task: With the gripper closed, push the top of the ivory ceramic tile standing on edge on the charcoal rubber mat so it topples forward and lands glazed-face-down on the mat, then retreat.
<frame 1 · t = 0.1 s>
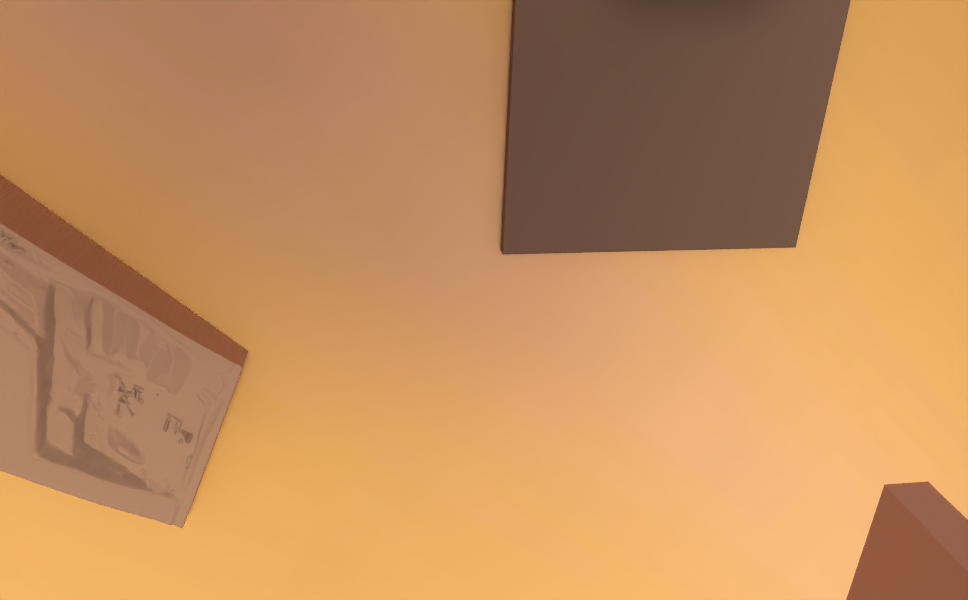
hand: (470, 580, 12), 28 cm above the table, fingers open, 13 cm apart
mat: (676, 49, 37), on the table
flat printed box: (34, 311, 38), on the table
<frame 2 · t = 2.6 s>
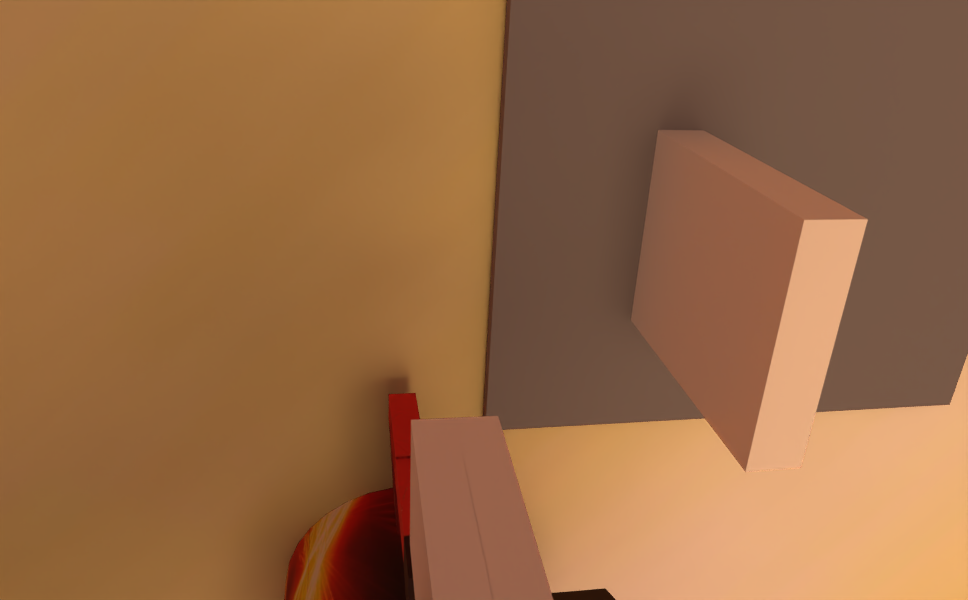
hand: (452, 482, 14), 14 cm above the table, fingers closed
tile: (665, 229, 27), point 1 cm above the table, touching mat
mug: (379, 542, 32), on the table
mat: (762, 223, 28), on the table
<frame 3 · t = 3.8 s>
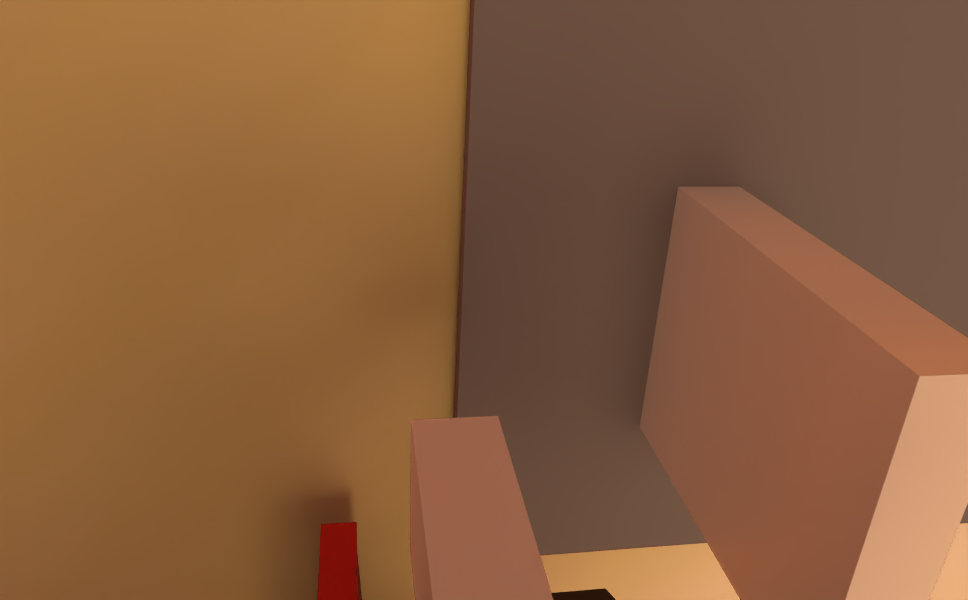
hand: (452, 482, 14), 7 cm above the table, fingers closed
tile: (686, 314, 21), point 1 cm above the table, touching mat
mat: (813, 301, 22), on the table
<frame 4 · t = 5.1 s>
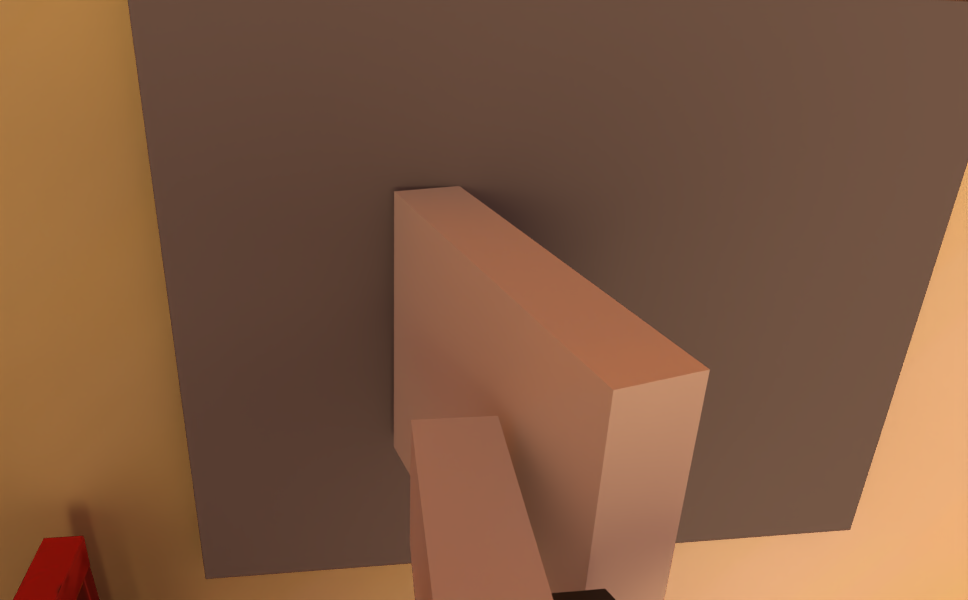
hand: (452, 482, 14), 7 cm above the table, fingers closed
tile: (424, 324, 19), point 1 cm above the table, tilted 16°, touching mat
mat: (570, 306, 21), on the table
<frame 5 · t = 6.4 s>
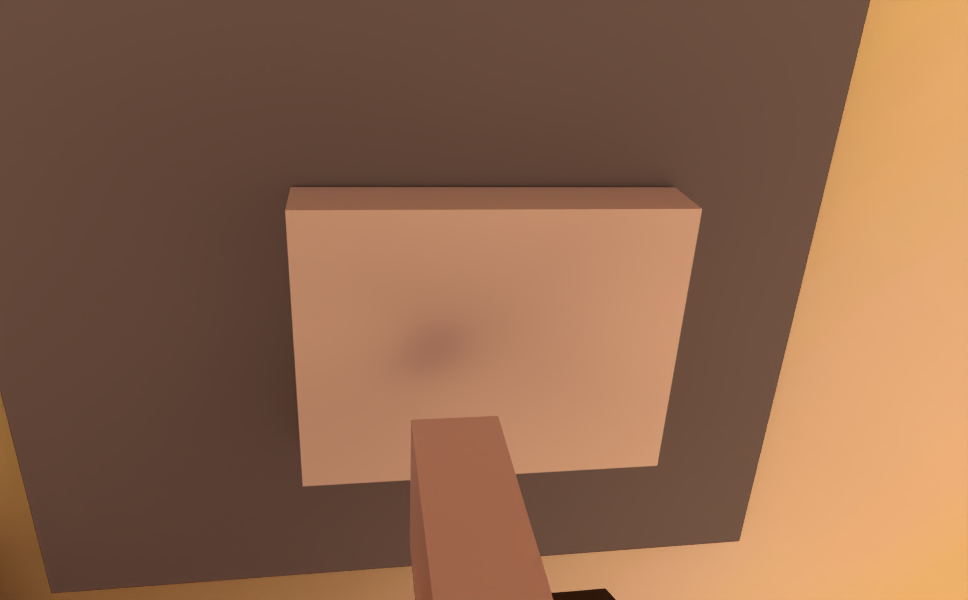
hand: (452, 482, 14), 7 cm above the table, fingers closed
tile: (296, 343, 18), point 2 cm above the table, tilted 90°, touching mat
mat: (421, 310, 20), on the table
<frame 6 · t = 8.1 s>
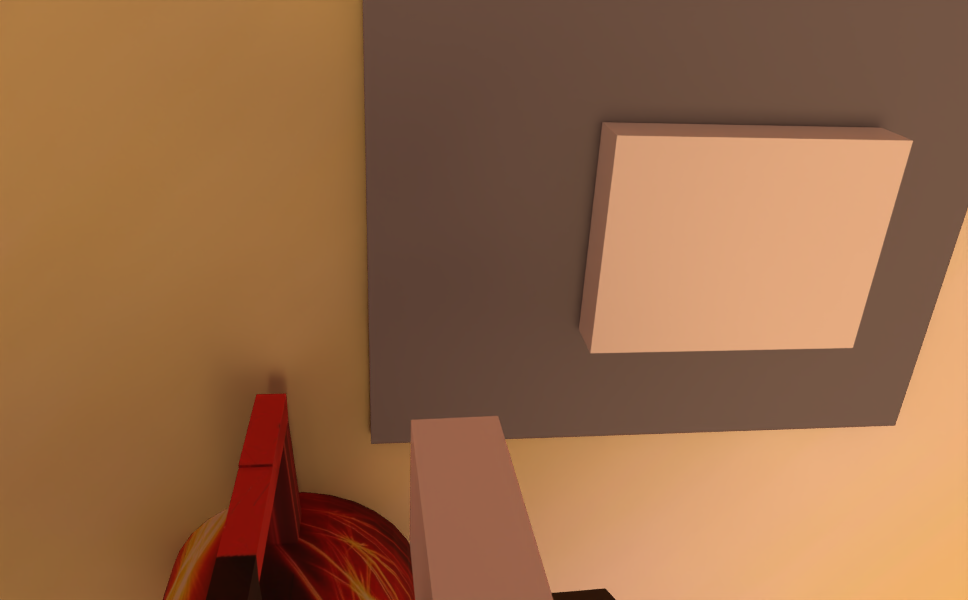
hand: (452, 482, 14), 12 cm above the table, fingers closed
tile: (596, 241, 24), point 2 cm above the table, tilted 90°, touching mat
mug: (270, 549, 30), on the table
mat: (672, 224, 26), on the table
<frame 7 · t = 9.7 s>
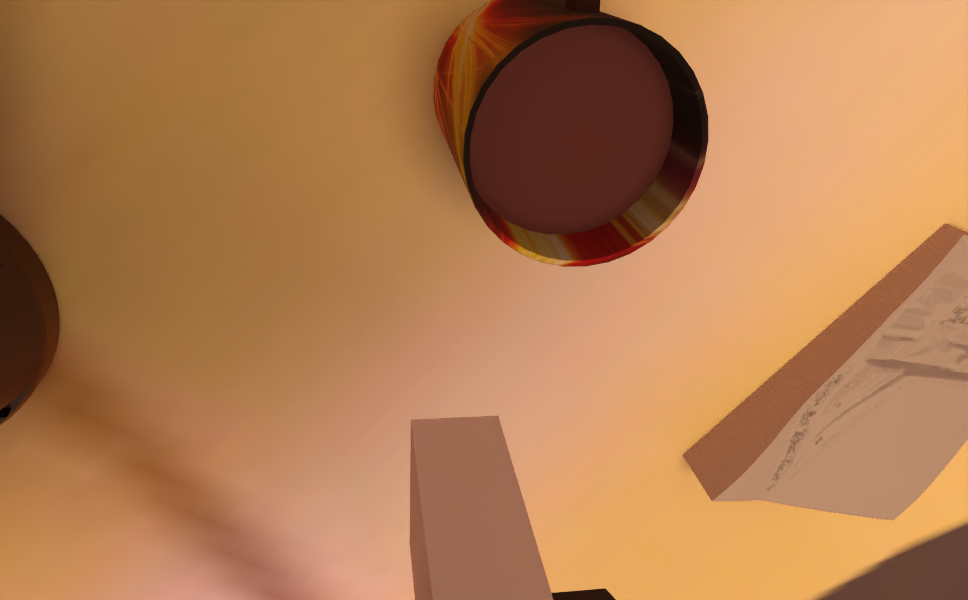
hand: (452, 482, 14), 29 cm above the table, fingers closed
mug: (509, 53, 40), on the table
flat printed box: (868, 363, 52), on the table
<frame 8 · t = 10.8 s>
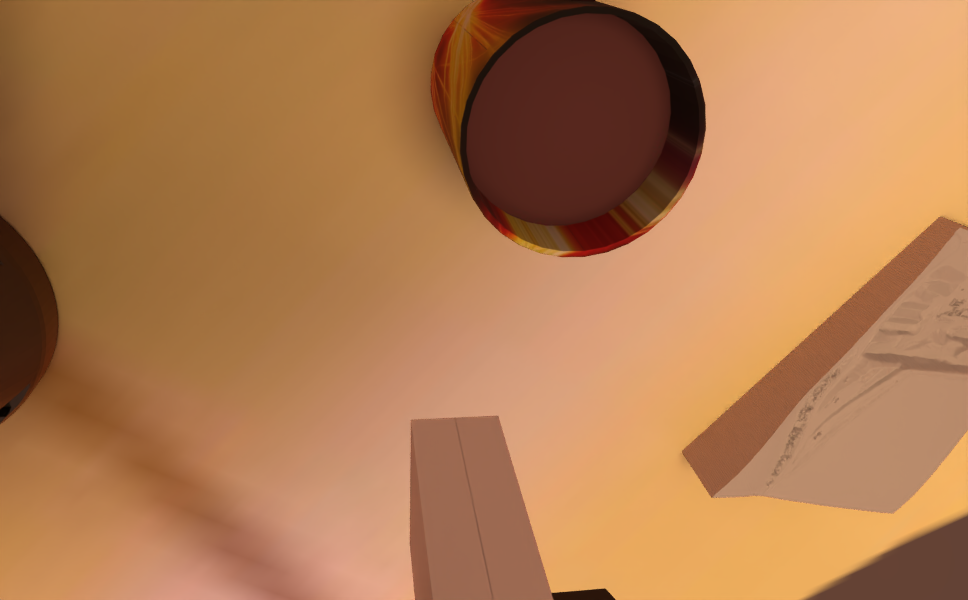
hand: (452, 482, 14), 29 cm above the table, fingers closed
mug: (506, 45, 40), on the table
flat printed box: (866, 357, 52), on the table
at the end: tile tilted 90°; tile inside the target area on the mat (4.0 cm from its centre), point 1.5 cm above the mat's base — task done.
